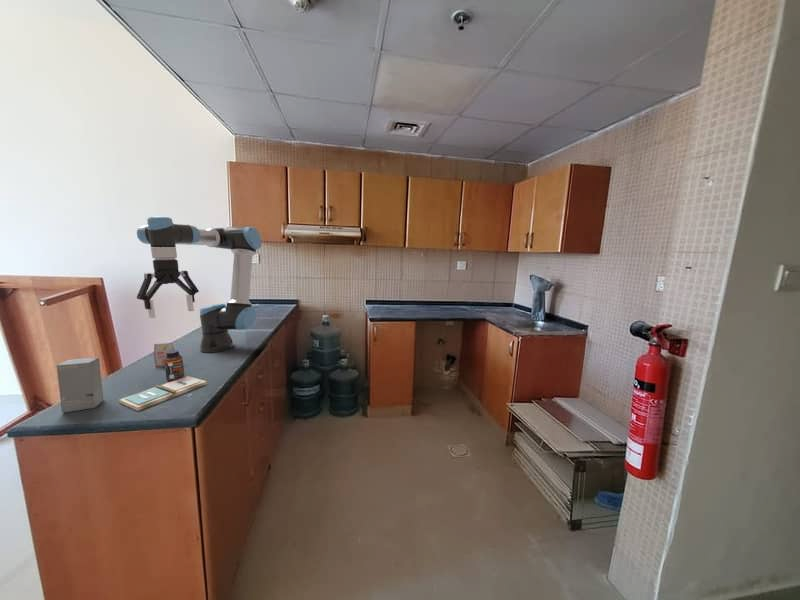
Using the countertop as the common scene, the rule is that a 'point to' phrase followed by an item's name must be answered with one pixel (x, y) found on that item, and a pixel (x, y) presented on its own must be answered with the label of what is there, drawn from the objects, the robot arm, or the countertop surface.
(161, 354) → the white product box
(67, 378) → the skincare box
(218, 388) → the countertop surface
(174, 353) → the supplement bottle
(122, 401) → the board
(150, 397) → the teal pad
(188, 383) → the cream pad
